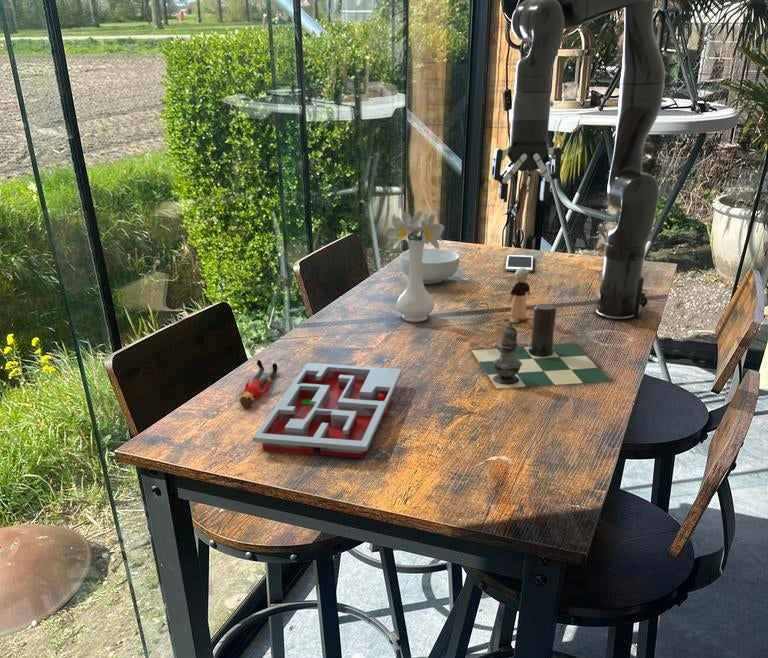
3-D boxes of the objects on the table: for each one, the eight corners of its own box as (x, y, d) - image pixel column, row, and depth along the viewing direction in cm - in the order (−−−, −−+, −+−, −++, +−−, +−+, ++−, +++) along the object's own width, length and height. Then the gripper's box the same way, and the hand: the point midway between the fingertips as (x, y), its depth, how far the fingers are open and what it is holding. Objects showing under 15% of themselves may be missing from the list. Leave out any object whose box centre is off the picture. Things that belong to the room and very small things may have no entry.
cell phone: (505, 270, 234) (505, 268, 234) (507, 256, 247) (507, 254, 247) (532, 271, 233) (532, 269, 232) (532, 257, 246) (533, 255, 246)
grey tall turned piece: (502, 387, 160) (506, 329, 154) (486, 377, 165) (489, 320, 158) (526, 381, 162) (531, 324, 156) (509, 372, 167) (514, 316, 161)
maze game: (366, 463, 133) (366, 446, 131) (254, 454, 136) (252, 437, 135) (401, 383, 162) (401, 368, 161) (308, 377, 165) (307, 362, 164)
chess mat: (574, 344, 181) (574, 343, 181) (611, 381, 163) (611, 380, 163) (471, 350, 178) (471, 349, 178) (496, 388, 160) (496, 388, 160)
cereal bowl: (460, 288, 219) (461, 262, 215) (399, 288, 219) (400, 262, 216) (456, 272, 234) (457, 247, 230) (399, 272, 234) (399, 247, 230)
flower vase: (445, 307, 205) (449, 205, 192) (433, 331, 189) (436, 221, 176) (396, 304, 207) (396, 203, 194) (380, 327, 192) (379, 219, 179)
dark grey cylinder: (548, 347, 179) (553, 302, 174) (556, 356, 175) (561, 309, 169) (525, 349, 179) (529, 303, 173) (532, 357, 174) (537, 311, 169)
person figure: (276, 354, 165) (251, 388, 149) (283, 372, 166) (259, 407, 151) (254, 360, 166) (227, 394, 151) (261, 378, 168) (235, 413, 153)
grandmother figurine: (517, 325, 193) (522, 272, 186) (503, 322, 195) (507, 269, 188) (532, 317, 198) (537, 265, 191) (519, 314, 200) (523, 263, 193)
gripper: (501, 119, 157) (495, 205, 166) (570, 117, 159) (561, 203, 167) (491, 115, 163) (486, 198, 172) (558, 113, 165) (550, 196, 174)
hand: (523, 201), depth 170 cm, fingers open, 8 cm apart
